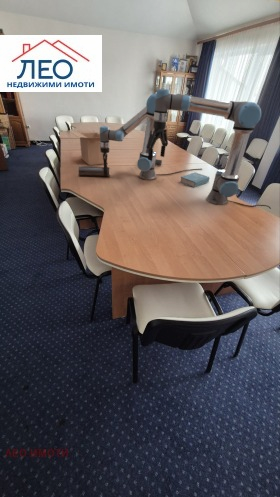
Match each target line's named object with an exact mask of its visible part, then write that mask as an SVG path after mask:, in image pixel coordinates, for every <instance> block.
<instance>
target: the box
mask: <svg viewBox="0 0 280 497" xmlns="http://www.w3.org/2000/svg"><path fill="white" fill-rule="evenodd" d="M70 133H71V134H72V135H74V136H75V137H77V138H79V144H80V153H81V160H83V162H85V163H86V165H87V166H95V165H97V166H98V165H104V160H103V154H104V153H102V152H101V150H100V148H101V146H100V131H98V132H96V131H95V130H92V129H91V130H77V132H76V131H70Z"/></svg>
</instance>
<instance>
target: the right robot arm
mask: <svg viewBox="0 0 280 497" xmlns="http://www.w3.org/2000/svg"><path fill="white" fill-rule="evenodd" d="M155 94H156V100H155V112H154V120H155V121H154V124H153V128H154V129H155V130H154V131H151V134H150V137H149V140H148V143H147V146H146V148H148V149H149V151H148V160H151V161H152V156H153V151H154V148H153V146H154V147H155V144H156V142H157V141H158V139H159V140H160V142H161V145H160V146H161V147H160V157H161V158H165V154H166V147H168V145H169V142H168V141H169V140H168V134H167V133H168V129H167V118H168V111H177V112H179V111H180V112H194V113H199V114H206V115H211V116H217V117H223V118H224V119H225V120H229V121H231V122H233V126H232V130H233V132H234V133H233V137H232V140H231V143H230V144H231V145H230V149H229V153H228V156H227V161H226V164H225V168H224V169H218V170H216V173H215V176H214V180H213V183H212V187H211V190H210V192H208V195H207V196H206V200H207V202H209V203H211V204H212V205H218V206H219V205H220V206H223V205H227V203H228V202H230V203H233V204H237V205H241V206H245V207H249V208H250V207H251V208H252V207H267V208H269V209H270V210H272V208H271V206H269V205H266V204H253V205H248V204H244V203H240V202H237V201H233V200H229V199H228V198H232V197H233V196H235V195H236V194H237V193H238V191H239V184H238V183H239V181H240V175H239V172H240V168H241V165H242V161H243V157H244V155H245V151H246V148H247V144H248V141H249V137H250V135H251V134H252V132H254V130H255V127H256V125H257V124H258V123H259V122H260V120H261V117H262V109H261V107H260V105H258V104H257V103H256V102H253V101H233V100H229V101H222V100H215V99H209V98H204V97H199V96H198V97H197V96H192V95H188V94H181V93H176V94H175V93H171V91H170V89H167V88H166V89H165V88H157V89H156V93H155ZM152 148H153V149H152Z"/></svg>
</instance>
